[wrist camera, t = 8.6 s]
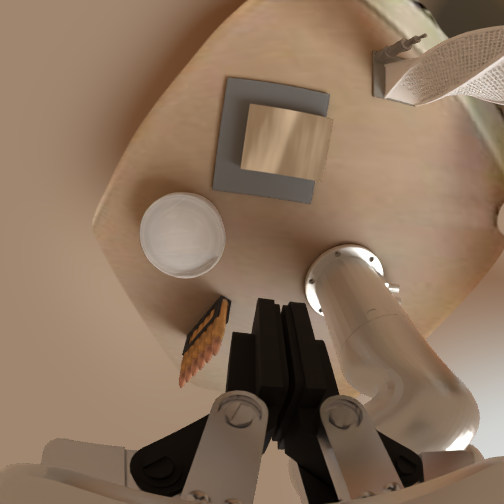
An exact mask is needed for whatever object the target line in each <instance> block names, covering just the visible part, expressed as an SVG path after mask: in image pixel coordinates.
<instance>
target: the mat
mask: <svg viewBox="0 0 504 504" xmlns="http://www.w3.org/2000/svg"><path fill="white" fill-rule="evenodd" d="M329 97H330V94H326V93H321V92H317V91H313V90H308V89H303V88H298V87H293V86H287V85H282V84H276V83H269V82H263V81H255V80H247V79H238V78H228V80H227V86H226V93H225V99H224V106H223V112H222V119H221V126H220V134H219V141H218V148H217V156H216V164H215V173H214V181H213V190H217V191H225V192H233V193H240V194H248V195H255V196H262V197H269V198H275V199H282V200H288V201H294V202H300V203H306V204H311V200H312V195H313V190H314V185H315V181H314V180H309V179H303V178H297V177H292V176H286V175H279V174H273V173H267V172H260V171H253V170H246V169H241V162H242V154H243V148H244V141H245V134H246V127H247V120H248V114H249V107H250V104H255V105H263V106H269V107H276V108H282V109H287V110H293V111H298V112H303V113H308V114H313V115H317V116H322V117H327V110H328V104H329Z"/></svg>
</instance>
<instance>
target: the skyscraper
mask: <svg viewBox="0 0 504 504" xmlns="http://www.w3.org/2000/svg"><path fill="white" fill-rule="evenodd" d="M492 32H494V33H492ZM424 37H427V34H423V35H421V36H419V37H418V36H414V37H412V38H411V39H409V40H407V39H404V38H403V39H401V40H400V41H398V42H397V43H396V44H394V45H392V46H386V47H385V48H384V49H382V50H381V51H378V52H377V51H373V96H374V97H378V98H383V99H387V100H392V101H396V102H400V103H404V104H407V105H411V106H415V107H416V106H421V105H425V104H428V103H431V102H434V101H436V100H439V99H441V98H443V97H445V96H450V95H468V96H473V97H476V98H479V99H482V100H485V101H489V102H493V103H497V104H501V105H504V26H495V27H489V28H483V29H478V30H474V31H470V32H466V33H464V34H460V35H457V36H455V37H452V38H450V39H448V40H445V41H443V42H441V43H440V44H438V45H436V46H434V47H433V48H431V49H430V50H428V51H427V52H425V53H424V54H423V55H421V56H420V57H418V58H412V59H407V60H405V59H402V58H399V57H395V56H396V55H397V54H398V53H401V52H404V51H408V50H410V49H411V47H412V44H415V43H418V42H420V40H421V39H422V38H424Z"/></svg>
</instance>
